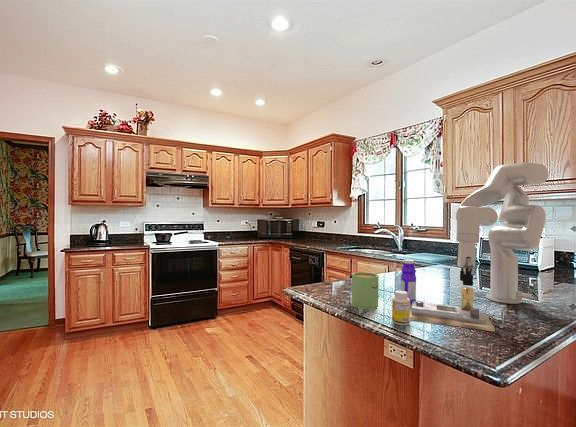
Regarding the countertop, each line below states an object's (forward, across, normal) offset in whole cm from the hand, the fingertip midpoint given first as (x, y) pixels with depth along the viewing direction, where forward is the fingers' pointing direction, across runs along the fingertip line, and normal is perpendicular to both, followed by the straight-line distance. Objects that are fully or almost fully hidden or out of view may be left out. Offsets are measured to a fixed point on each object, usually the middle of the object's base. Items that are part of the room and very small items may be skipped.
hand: (466, 283), depth 117 cm
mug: (+11, +11, -35) cm, 39 cm away
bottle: (+11, 0, -20) cm, 23 cm away
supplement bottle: (+11, +27, -21) cm, 36 cm away
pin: (+10, -1, +1) cm, 10 cm away
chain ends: (+11, +15, -7) cm, 20 cm away
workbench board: (+11, +15, -7) cm, 20 cm away
